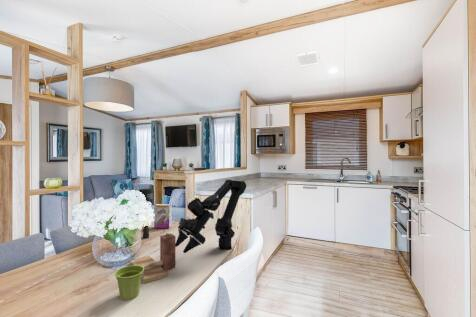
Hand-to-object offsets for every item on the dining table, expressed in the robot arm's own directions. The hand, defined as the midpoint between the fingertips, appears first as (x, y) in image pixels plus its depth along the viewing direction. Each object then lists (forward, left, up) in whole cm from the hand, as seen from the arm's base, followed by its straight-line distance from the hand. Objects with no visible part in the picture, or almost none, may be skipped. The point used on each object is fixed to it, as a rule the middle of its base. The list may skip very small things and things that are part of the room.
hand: (179, 249), depth 108 cm
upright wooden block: (+9, +5, -7) cm, 12 cm away
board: (+13, +4, -7) cm, 15 cm away
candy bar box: (+20, -62, -7) cm, 65 cm away
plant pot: (+14, +23, -7) cm, 28 cm away
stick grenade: (+26, -41, -7) cm, 49 cm away
